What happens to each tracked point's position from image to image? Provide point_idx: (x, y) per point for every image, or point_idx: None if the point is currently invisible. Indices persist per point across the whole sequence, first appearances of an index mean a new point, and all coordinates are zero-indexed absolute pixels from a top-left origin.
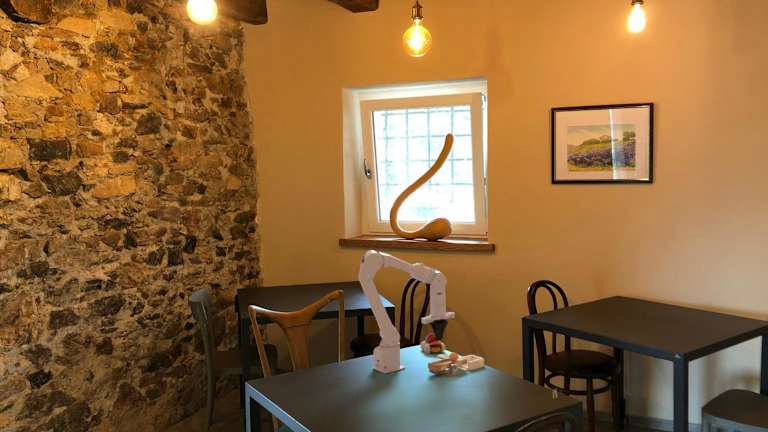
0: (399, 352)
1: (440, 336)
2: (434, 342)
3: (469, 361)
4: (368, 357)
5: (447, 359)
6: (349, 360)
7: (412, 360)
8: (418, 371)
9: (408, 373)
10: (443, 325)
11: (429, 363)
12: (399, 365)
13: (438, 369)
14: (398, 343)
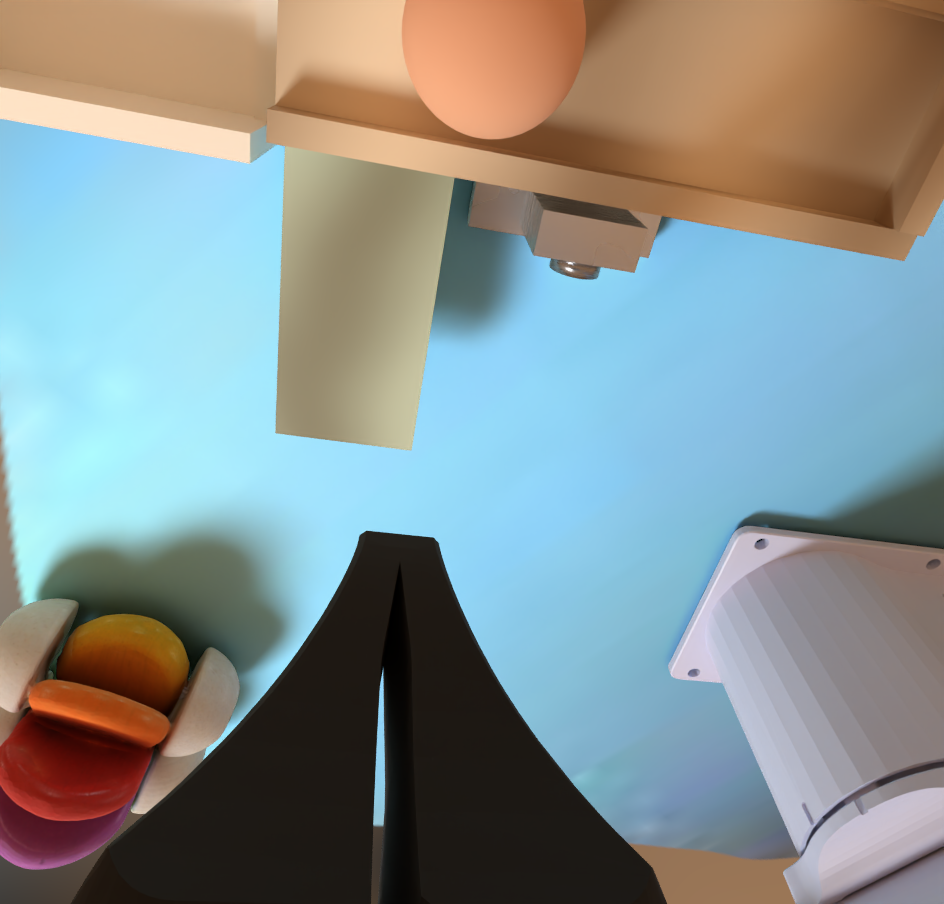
0: (854, 685)
1: (425, 583)
2: (126, 718)
3: (27, 75)
4: (629, 832)
5: (534, 158)
6: (755, 853)
7: (478, 625)
8: (744, 383)
9: (854, 415)
10: (353, 814)
11: (928, 218)
12: (793, 572)
13: None
14: (932, 797)
